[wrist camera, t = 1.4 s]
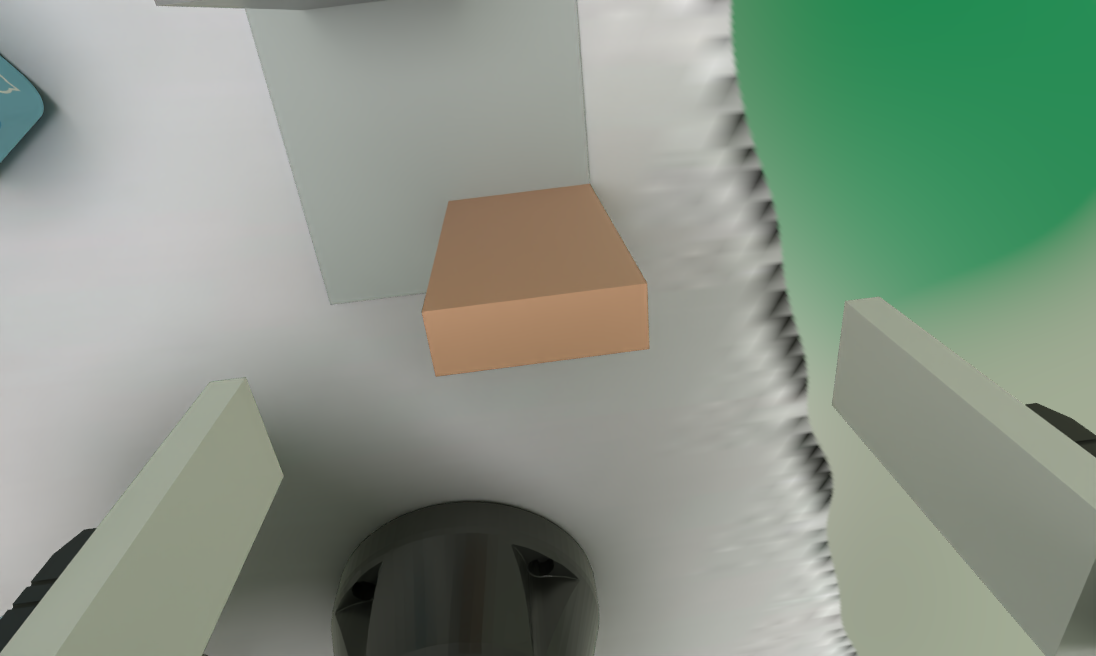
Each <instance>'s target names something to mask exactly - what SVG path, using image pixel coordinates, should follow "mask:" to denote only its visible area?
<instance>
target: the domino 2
mask: <svg viewBox="0 0 1096 656" xmlns="http://www.w3.org/2000/svg"><path fill="white" fill-rule="evenodd" d="M377 1H386V0H155V3H156V6H181V7H214V8H248V9H281V10H308V9H317V8H325V7H334V6H343V5H351V4H360V3H369V2H377Z"/></svg>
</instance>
